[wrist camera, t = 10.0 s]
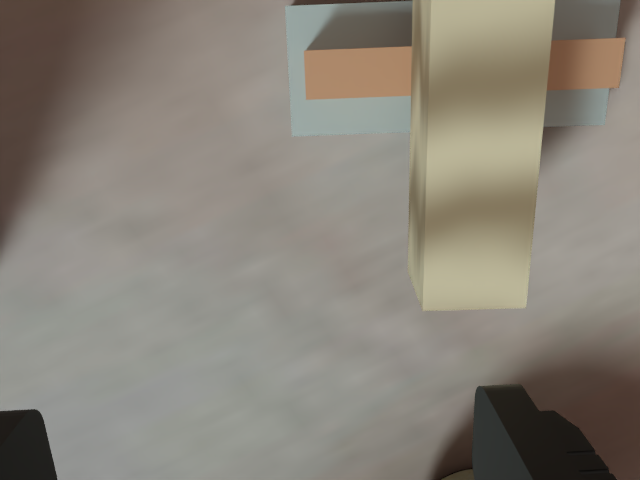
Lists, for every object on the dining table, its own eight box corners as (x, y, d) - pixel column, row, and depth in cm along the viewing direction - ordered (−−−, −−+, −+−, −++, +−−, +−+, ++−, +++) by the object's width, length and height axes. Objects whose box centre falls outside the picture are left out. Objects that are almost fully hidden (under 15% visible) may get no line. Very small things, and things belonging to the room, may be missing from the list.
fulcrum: (294, 129, 35) (289, 145, 29) (288, 9, 33) (281, 1, 27) (581, 118, 35) (632, 132, 29) (595, -4, 32) (653, -14, 27)
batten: (415, -189, 25) (438, -246, 20) (529, -195, 24) (579, -252, 20) (407, 271, 32) (422, 311, 27) (495, 269, 32) (526, 308, 27)
